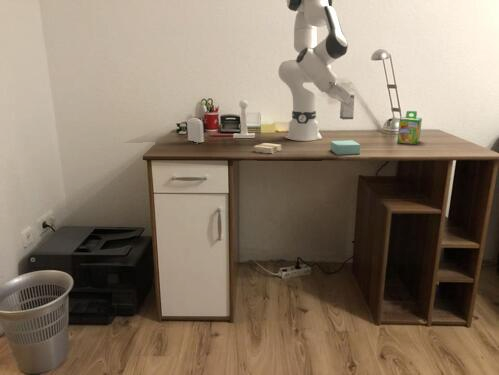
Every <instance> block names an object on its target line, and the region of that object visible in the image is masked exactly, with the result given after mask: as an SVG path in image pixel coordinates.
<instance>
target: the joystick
mask: <svg viewBox="0 0 499 375" xmlns="http://www.w3.org/2000/svg"><path fill="white" fill-rule="evenodd" d="M238 105H239V107H240V109H241V110H240V111H241V113H240V133H233V139H234V138H254V137H255V138H256V136H255V135H256V133H255V132H253V133H249V132H248V125H247V124H248V120H247V107H248V105H249V104H248V101H247V100H246V99H241V100H239V103H238Z"/></svg>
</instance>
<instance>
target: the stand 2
mask: <svg viewBox="0 0 499 375" xmlns="http://www.w3.org/2000/svg"><path fill="white" fill-rule="evenodd" d="M330 151H331V152H333V153H334V154H335V155H360V154H361V144H360V143H358V142H356V141H355V140H350V139H348V140H331V141H330Z"/></svg>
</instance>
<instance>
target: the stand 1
mask: <svg viewBox="0 0 499 375" xmlns="http://www.w3.org/2000/svg"><path fill="white" fill-rule="evenodd" d="M254 151H258V152H257V153H259V152H265V153H264V154H267V153H272V154H275V153H277V151H278V152H279V151H280V152H281V151H282V144H276V143H269V142H268V143H267V142H263V143H259V144H256V145H253V152H254ZM274 152H275V153H274Z"/></svg>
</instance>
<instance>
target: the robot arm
mask: <svg viewBox="0 0 499 375" xmlns="http://www.w3.org/2000/svg"><path fill="white" fill-rule="evenodd" d="M333 3H334V0H286V4H287V8H288V9H289V10H290V11H293V12H297V13H296V15H295V19H294V25H293V26H294V28H293V48H294V50H295V51H296V52H297V53H298V55H297V57H296V59H290V60H285V61H282V62H281V63H280V65H279V67H278V71H277V72H278V77H279V78H280V80H281V81H282V82H283V83H284V84H286V85H287V87H288V88H289V90H290V93H291V96H292V112H291V118H292V119H291V120H289V121H288V134H287V135H285V136H284V137H285V138H284V139H289V140H292V141H302V142H305V141H306V142H307V141H308V142H309V141H316V140H322V139H323V137H322V135H321V134H320V129H319V122H318V121H317V120H316V118H317V112H316V95H315V93H314V92H312V91H311V90H309V89H307V88H305V87H304V85H303V84H307V83H308V84H309V83H311V84H312V83H313V84H314V86H315V87H316V88H317V89H318V90H319V91H320V92H321V93H325V94H326V95H327V96H329V97H330V98H332V99H335V100H338V101H339V102H340V103H341V101H344V102H345V103H346V105H347V106H349V107H351V106H352V103H351V102H350V100H349V98H350V97H351V95H352V94H351V93H350V92H349V91H348V90H347V89H346V88H345V87H344V86H343V85H342V84H340V83H339V81H338V78H339V77H338V75H337V74H335V72H334V71H333V70H332V65H331V64H332V63H334V62H336V60H337V59H340V58H341V57H343V56H344V55H346V54H347V51H348V47H349V46H348V40H347V38H346V36H345V34H344V32H343V29H342V26H341V24H340V20H339V17H338V15H337V14H338V13H337V12H336V10H335V8H334V7H332V6H333V5H334V4H333ZM324 26H326V29H327V35H326V37H325V38H324V39H322V41H320V42H317V28H321V27H324ZM350 94H351V95H350Z"/></svg>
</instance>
